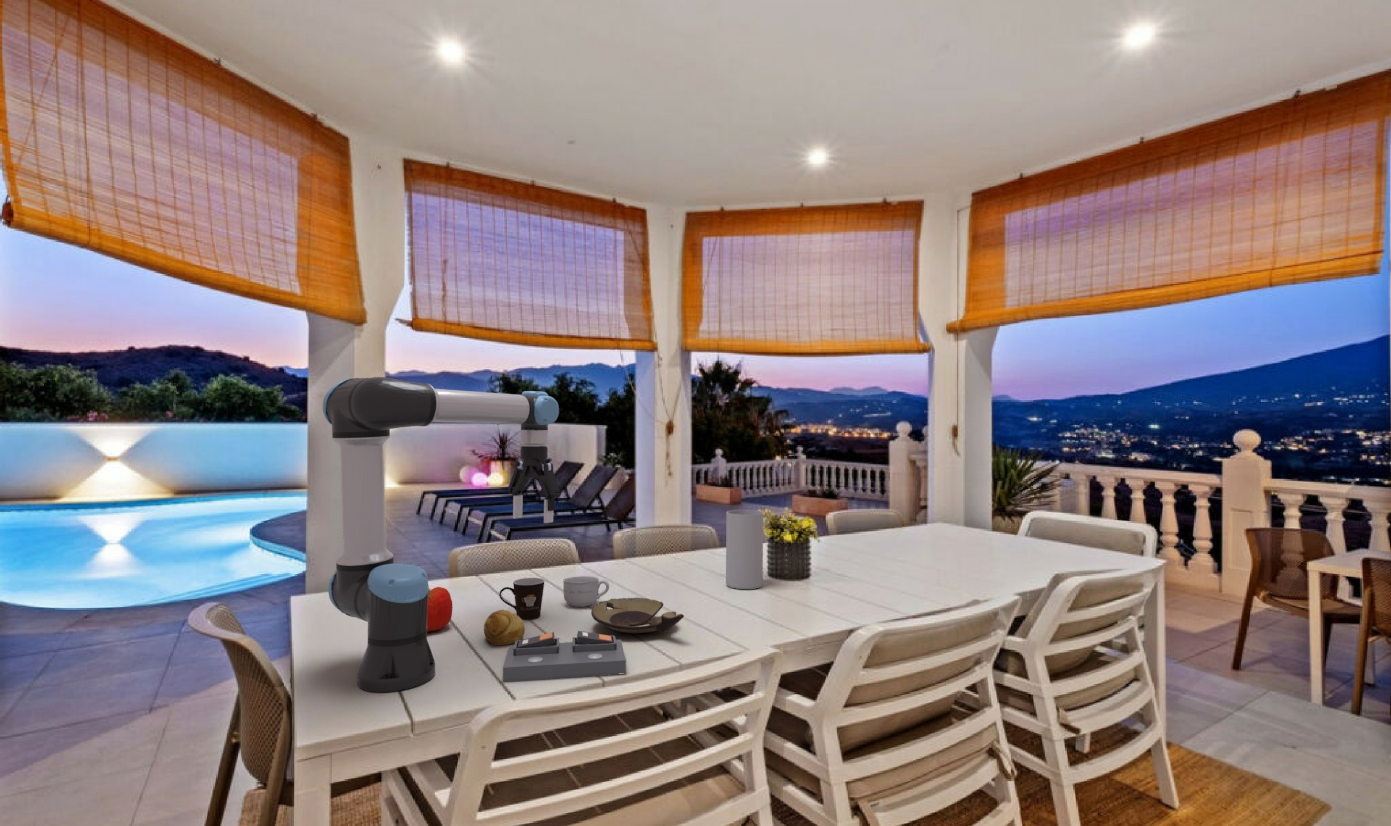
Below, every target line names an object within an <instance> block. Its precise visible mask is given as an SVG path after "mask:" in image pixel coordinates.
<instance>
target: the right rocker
mask: <svg viewBox="0 0 1391 826" xmlns="http://www.w3.org/2000/svg"><path fill="white" fill-rule="evenodd" d="M576 637H577V642H581V643H588V644H608V643H613V641H612V636H611V635H607V634H600V633H595V632H588V631H583V630H582V631H581V630H577V635H576Z"/></svg>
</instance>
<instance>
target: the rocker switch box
mask: <svg viewBox="0 0 1391 826" xmlns="http://www.w3.org/2000/svg"><path fill="white" fill-rule="evenodd" d="M610 636H612V641H613V643H608V644H588V643H581V642H577V636H575V637H573V636H572V641H571V642H570V641H569V642H568V641H567V642H566V641H565V642H560V637H559V638H557V637H555V642H554V643H553V644H549V645H545V646H541V647H534V648H518V644H519V641H520V640H521V639H520V640H516V641H515V643H514V644H513V645H512V644H508V649H507V652H506V656H505V659H504V663H503V667H502V682H503V683H504V682H506V683H507V682H520V681H519V680H524V681H537V680H538V679H539V680H552V679H553V680H554V679H568V678H569V679H570V678H583V677H585V676H587V677H600V676H599V675H603V676H609V675H608V674H619V673H626V672H627V671H626V669H627V667H626V665H627V663H626V662H627V659H626V655H625V652H624V646H623V642H622V639H616V636H615V635H610ZM626 674H627V673H626ZM619 675H620V674H619ZM585 678H586V677H585Z"/></svg>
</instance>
